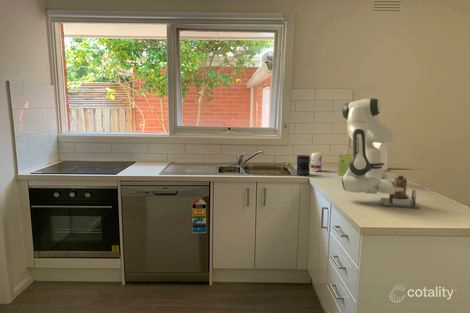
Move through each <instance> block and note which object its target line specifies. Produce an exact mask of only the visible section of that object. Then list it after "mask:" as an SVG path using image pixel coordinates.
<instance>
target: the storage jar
mask: <svg viewBox="0 0 470 313" xmlns="http://www.w3.org/2000/svg"><path fill="white" fill-rule="evenodd" d="M310 158H311V155H305V154H302V155H301V154H299V155H297V156H296V176H298V175H299V176H298V177H309V176H310V171H311V167H310V164H311V159H310ZM308 175H309V176H308Z"/></svg>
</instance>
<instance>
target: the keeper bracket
mask: <svg viewBox="0 0 470 313" xmlns="http://www.w3.org/2000/svg"><path fill="white" fill-rule="evenodd" d="M380 200H381V203H382V205H383V206H384V207H387V208H388V207H390V208H400V209H413V210H415V209H417V210H419V209H420V206H419V205H418V204H417V203H416V202H417V201H416V200H417V189H412V190H411V196H410V194H406V199H399V198H393V194H388V197H380Z"/></svg>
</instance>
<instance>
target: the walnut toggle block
mask: <svg viewBox="0 0 470 313" xmlns="http://www.w3.org/2000/svg"><path fill="white" fill-rule="evenodd" d="M393 183H394V187H403V188H404V191H398V192H395V194H393V198H399V199H406V195H407V187H408V186H407V184H408V179H407V178H406V177H404V175H398V176H397V177H396V176H394V182H393Z"/></svg>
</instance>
